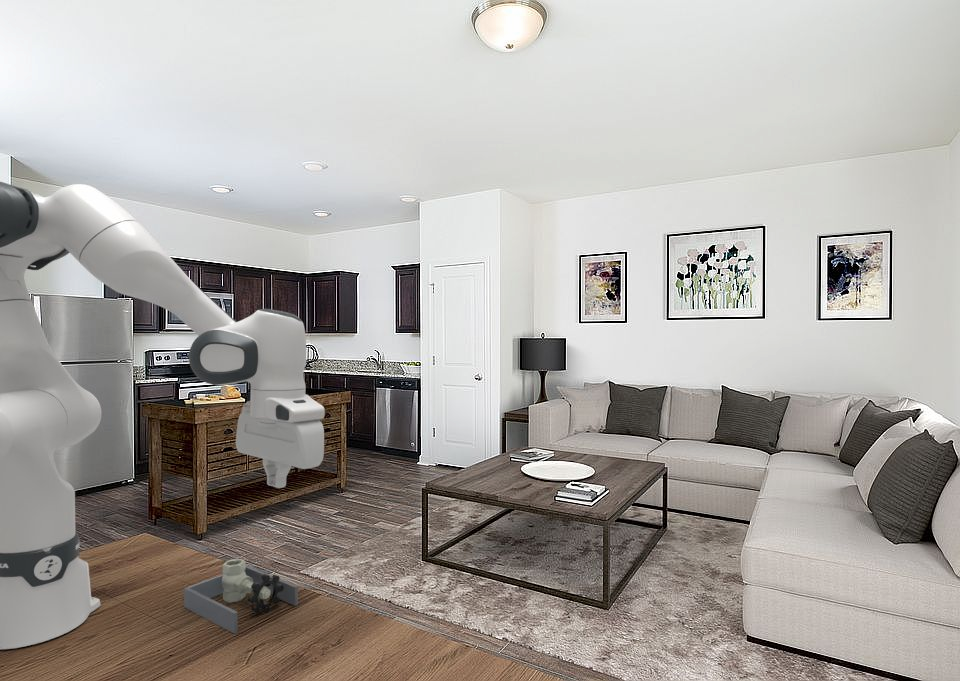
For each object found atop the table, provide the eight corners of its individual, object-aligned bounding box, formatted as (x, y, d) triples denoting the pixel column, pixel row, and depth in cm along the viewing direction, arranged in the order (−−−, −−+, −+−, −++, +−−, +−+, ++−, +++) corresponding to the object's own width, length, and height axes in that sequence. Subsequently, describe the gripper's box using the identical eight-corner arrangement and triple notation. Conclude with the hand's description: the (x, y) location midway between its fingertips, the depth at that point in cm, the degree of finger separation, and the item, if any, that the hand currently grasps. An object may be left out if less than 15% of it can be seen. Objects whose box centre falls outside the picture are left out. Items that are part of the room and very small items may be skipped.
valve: (210, 602, 104) (250, 621, 97) (210, 565, 104) (250, 582, 97) (244, 588, 110) (283, 606, 103) (243, 554, 110) (283, 568, 103)
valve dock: (183, 607, 102) (183, 588, 102) (246, 582, 112) (246, 565, 112) (234, 633, 93) (234, 613, 93) (297, 604, 103) (297, 586, 103)
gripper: (227, 401, 102) (225, 479, 103) (299, 413, 90) (297, 501, 91) (259, 398, 108) (257, 472, 108) (331, 409, 95) (329, 493, 96)
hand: (276, 486), depth 99 cm, fingers closed
